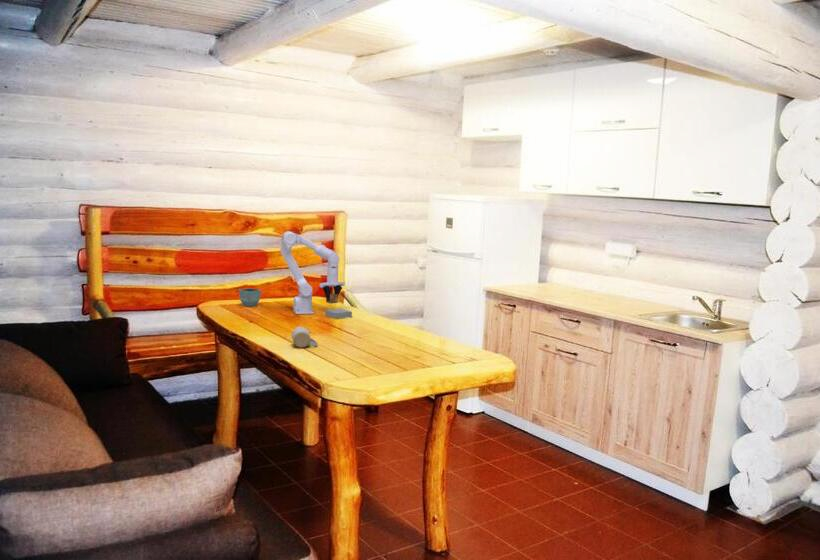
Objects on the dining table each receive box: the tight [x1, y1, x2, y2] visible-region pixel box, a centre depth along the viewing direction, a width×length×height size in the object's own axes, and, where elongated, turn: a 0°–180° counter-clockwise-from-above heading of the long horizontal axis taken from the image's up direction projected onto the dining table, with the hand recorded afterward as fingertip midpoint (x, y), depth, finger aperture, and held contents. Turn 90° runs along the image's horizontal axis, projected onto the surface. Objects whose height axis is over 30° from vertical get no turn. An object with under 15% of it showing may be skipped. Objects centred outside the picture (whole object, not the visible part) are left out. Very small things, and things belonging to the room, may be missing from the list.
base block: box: [324, 308, 353, 320], centre depth 355 cm, size 10×10×3 cm
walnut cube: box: [325, 292, 339, 304], centre depth 366 cm, size 4×4×4 cm
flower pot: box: [238, 287, 262, 308], centre depth 376 cm, size 9×9×9 cm
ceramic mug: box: [291, 326, 319, 349], centre depth 288 cm, size 11×8×8 cm
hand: (331, 299), depth 366 cm, fingers closed on walnut cube, 4 cm apart
